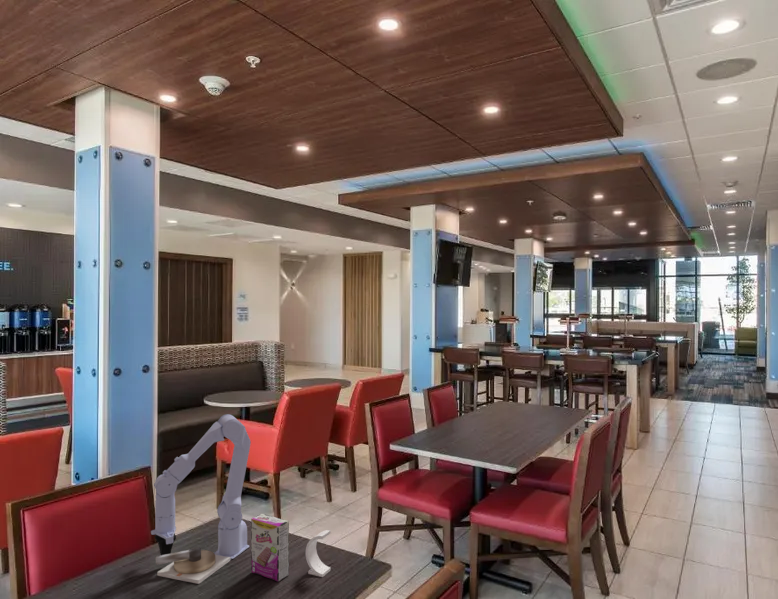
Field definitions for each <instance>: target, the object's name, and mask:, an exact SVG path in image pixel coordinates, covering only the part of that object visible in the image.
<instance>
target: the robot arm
mask: <svg viewBox="0 0 778 599" xmlns="http://www.w3.org/2000/svg"><path fill="white" fill-rule="evenodd" d="M224 437H225V438H227V439H228V440H230V442H231V443H232V444H233V445H234V446H233V450H232V457H231V461H230V467H229V472H228V477H227V482H226V488H225V493H224V495H222V499H221V502H220V503H219V505H218V506H217V510H216V514H217V516H218V517H219V523H218V525H217V530H218V531H217V540H218V542H217V547H218V548H217V550H216V551H214V552H213V553H214V554H215V555H220V556H226V557H230V560H233V559H235V558H237V557H238V556H239V555H240V554H242V553H243V552H244V551H246V550H248V548H250V545H249V544H248V526H247V524H246V522H245V521H244V520H243V514H242V513H243V512H242V492H243V487H244V486H243V485H244V481H245V476H246V470H247V465H248V459H249V454H250V451H251V450H250V449H251V445H252V444H251V441H252V440H251V439H250V437H249V434H248V432H247V430H246V426H245V425H244V424H243V423H242V422H241V421H239V420H238V419H237V418H236V417H235V416H234V415H232V414H228V413H227V414H223V415H221V416H220V418H219V419H218V420H217V421H215V422H214V423H213V424H212V425H211V427H210V428H209V429H208V430H207V431H206V432H205V433H204V435H203V436H202V437H201V438H200V439H199V440H198V441H197V443H196V444H195V445H194V446H193V447H192V448H191V449H190V451H189V452H188V453H185V454H181V455H180V456H179V457H178V456H176V457H175V458H174V459H173V460H174V462H173V463H172V464H171V465H170V466H169V467H168V468H167V469H164V470H163V471H162V474H160V475H158V476H157V477H156V479H155V481H154V483H153V486H154V490H155V501H154V502H155V503H154V504H155V505H154V506H155V507H154V509H155V511H154V514H155V515H154V516H155V518H154V522H155V526H154V527H155V529H152V530H150V534H151V535H155V536H154V539H155V541H156V543H157V544H158V549H159V556H160V555H165V554H170V553H172V549H173V545H174V543H175V541H176V539H177V535H176V530H177V527H176V497H175V495H176V494H175V493H176V491H177V490H178V489H177V488H178V485H179V484H180V483H182V481H183V480H184V479H185V478H186V477H187V476H188V475H189V474H190V473H191V472H192V470H194V468H195V467H196V461H197V460H198V459H199V458H200V457H202V455H203V454H204V453H205V452H206V451H207V450H208V449H209V448H210V447H211V446H212V445H213V444H215V443H217V442H223V441H225V438H224Z"/></svg>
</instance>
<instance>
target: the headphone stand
mask: <svg viewBox="0 0 778 599" xmlns="http://www.w3.org/2000/svg"><path fill="white" fill-rule="evenodd" d="M331 534H332V532H331V530H329V529H326V530H322V531H321V532H319V533H318V534H316V535H315V536H313V537H312V538H311V539H309V540H308V541H307V544H306V547H305V559H306V562H307V564H308V565H307V566H308V567H309V570H308V575H312V576H316V577H320V578H323V577H325V576H326V575H327V574H328V573H329V572H331V571H332V570H331V566H328V565H326V564H325V563H324V562H323V561H322V560H321V558H320V557H319V555H318V551H317V543H318V541H319V540H323V539H325V538H326V537H328V536H329V535H331Z"/></svg>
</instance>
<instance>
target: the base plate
mask: <svg viewBox="0 0 778 599" xmlns="http://www.w3.org/2000/svg"><path fill="white" fill-rule="evenodd" d="M230 561H231V559H230V557H226V556H220V555H215V564H214V565H213V566H212V567H210V568H209V569H207V570H204V571H201V572H198V573H191V574H184V573H179V572H177V571H175V570H174V562H170V563H168V565H166V566H164V567H163V568H162V569H160V570H158V571H157V575H156V576H157V577H163V578H167V579H172V580H178V581H183V582H188V583H193V584H198V585H199V584H201V583H202V582H204V581H205V580H206V579H207V578H209V577H210V576H211V575H213V574H214V573H216V572H217V571H219V570H220V569H221V568H222V567H224V566H226V565H227V564H228V563H229V562H230Z"/></svg>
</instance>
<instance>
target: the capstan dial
mask: <svg viewBox="0 0 778 599" xmlns="http://www.w3.org/2000/svg"><path fill="white" fill-rule="evenodd" d="M172 562H174V570H175V571H177V572H179V573H184V574H191V573H198V572H201V571H204V570H207V569H209V568H210V567H212V566H213V565H214V564H215V554H214V552H213V551H211V550H208V549H202V548H201V547H198V546H196V547H191V548H189V549H187V550H181V551H176V552H171V553H170V554H165V555H160V554H159V555H156V556H155V566H158V565H164V564H170V563H172Z"/></svg>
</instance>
